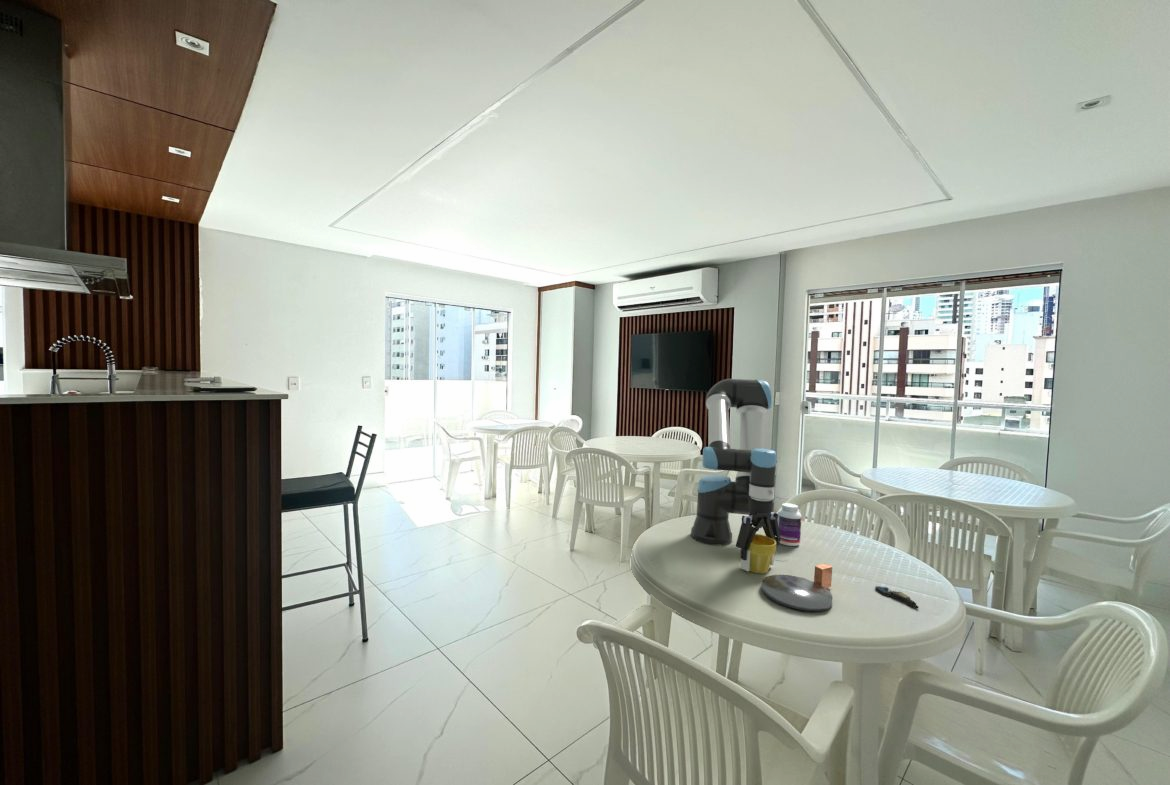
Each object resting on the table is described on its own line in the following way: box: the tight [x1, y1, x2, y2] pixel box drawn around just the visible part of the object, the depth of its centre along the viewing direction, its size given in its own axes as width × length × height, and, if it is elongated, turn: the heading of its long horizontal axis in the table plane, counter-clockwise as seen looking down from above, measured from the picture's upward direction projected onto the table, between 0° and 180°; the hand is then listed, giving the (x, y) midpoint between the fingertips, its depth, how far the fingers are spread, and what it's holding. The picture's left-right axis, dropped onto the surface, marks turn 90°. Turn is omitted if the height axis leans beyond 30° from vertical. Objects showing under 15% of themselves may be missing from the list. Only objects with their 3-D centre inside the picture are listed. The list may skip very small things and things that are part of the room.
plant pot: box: [745, 533, 777, 574], centre depth 143 cm, size 10×10×10 cm
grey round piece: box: [761, 563, 833, 612], centre depth 127 cm, size 18×23×6 cm
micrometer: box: [874, 585, 919, 609], centre depth 127 cm, size 12×2×5 cm
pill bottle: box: [777, 502, 802, 547], centre depth 167 cm, size 8×8×14 cm
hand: (757, 566), depth 143 cm, fingers closed on plant pot, 10 cm apart
